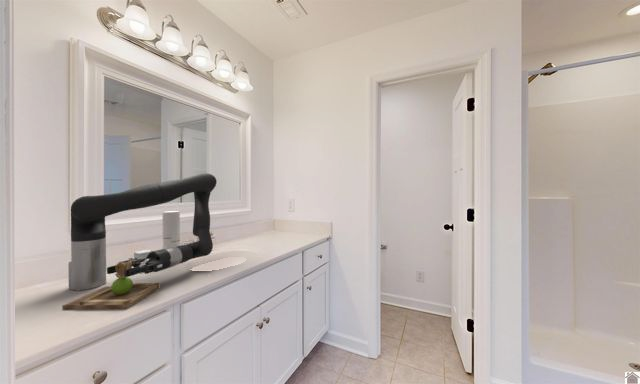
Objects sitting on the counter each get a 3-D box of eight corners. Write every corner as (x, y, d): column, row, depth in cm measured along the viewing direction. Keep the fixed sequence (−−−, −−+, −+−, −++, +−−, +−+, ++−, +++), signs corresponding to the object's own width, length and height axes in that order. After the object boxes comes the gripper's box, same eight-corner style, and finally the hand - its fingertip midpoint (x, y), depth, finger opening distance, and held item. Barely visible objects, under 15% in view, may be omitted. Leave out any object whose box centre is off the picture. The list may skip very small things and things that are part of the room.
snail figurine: (123, 298, 73) (122, 260, 74) (106, 297, 75) (106, 259, 75) (139, 291, 79) (139, 255, 79) (123, 290, 80) (123, 254, 80)
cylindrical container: (165, 261, 118) (165, 211, 118) (181, 260, 120) (181, 210, 120) (160, 265, 111) (160, 212, 111) (178, 264, 113) (177, 212, 113)
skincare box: (133, 267, 109) (133, 251, 109) (149, 264, 114) (148, 248, 114) (139, 270, 105) (138, 253, 105) (154, 266, 110) (154, 250, 110)
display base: (62, 309, 70) (62, 302, 70) (105, 289, 84) (105, 283, 84) (127, 308, 70) (127, 301, 70) (159, 289, 84) (159, 282, 84)
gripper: (151, 247, 92) (101, 258, 77) (178, 250, 88) (131, 262, 72) (152, 266, 92) (102, 281, 77) (178, 270, 88) (131, 287, 72)
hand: (116, 272), depth 75 cm, fingers open, 8 cm apart
